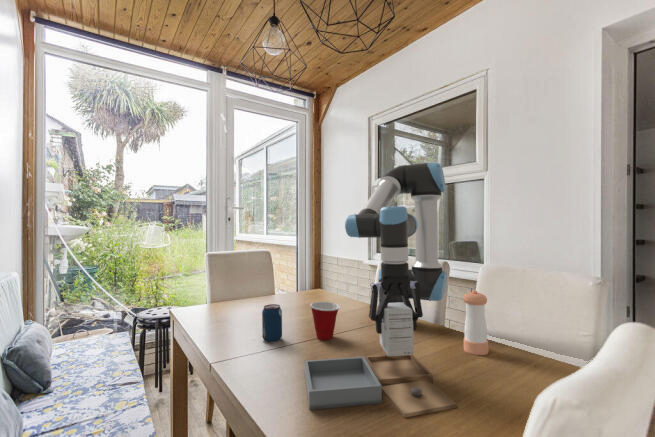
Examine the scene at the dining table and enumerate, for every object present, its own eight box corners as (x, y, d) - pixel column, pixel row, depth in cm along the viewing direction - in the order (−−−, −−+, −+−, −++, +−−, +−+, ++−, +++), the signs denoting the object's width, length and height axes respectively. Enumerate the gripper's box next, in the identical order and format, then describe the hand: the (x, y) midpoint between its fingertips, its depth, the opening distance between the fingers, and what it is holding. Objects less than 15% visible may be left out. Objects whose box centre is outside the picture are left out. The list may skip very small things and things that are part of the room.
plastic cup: (337, 344, 112) (337, 308, 112) (307, 342, 114) (306, 307, 114) (342, 333, 123) (342, 301, 123) (314, 331, 125) (314, 300, 125)
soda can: (285, 338, 119) (285, 304, 119) (275, 344, 112) (274, 309, 112) (269, 335, 121) (269, 303, 122) (258, 341, 115) (258, 307, 115)
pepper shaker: (487, 347, 107) (485, 289, 107) (490, 356, 100) (488, 293, 100) (462, 345, 109) (461, 287, 110) (464, 353, 102) (463, 292, 103)
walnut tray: (411, 359, 99) (411, 353, 99) (433, 382, 84) (433, 375, 85) (364, 362, 97) (364, 356, 97) (378, 386, 83) (378, 379, 83)
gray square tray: (364, 371, 91) (363, 356, 91) (381, 403, 75) (381, 385, 75) (304, 375, 89) (304, 360, 89) (309, 409, 73) (309, 391, 73)
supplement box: (380, 346, 95) (379, 302, 95) (405, 344, 95) (404, 301, 95) (386, 357, 88) (385, 310, 87) (413, 355, 88) (412, 308, 88)
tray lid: (426, 382, 84) (426, 374, 84) (456, 407, 73) (456, 398, 73) (380, 390, 81) (380, 381, 81) (404, 417, 69) (404, 408, 69)
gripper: (423, 258, 96) (425, 335, 96) (355, 261, 94) (357, 341, 94) (435, 262, 89) (437, 345, 89) (362, 265, 86) (364, 351, 86)
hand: (396, 343), depth 91 cm, fingers closed on supplement box, 7 cm apart
